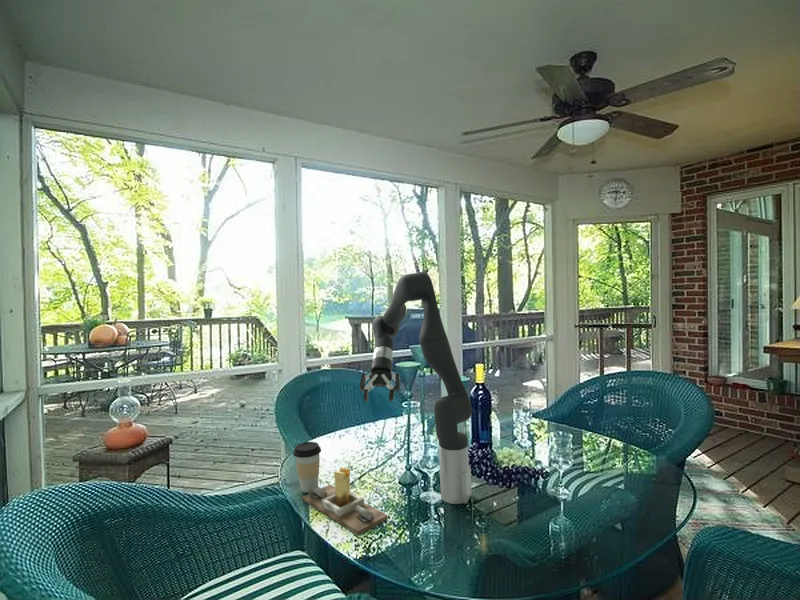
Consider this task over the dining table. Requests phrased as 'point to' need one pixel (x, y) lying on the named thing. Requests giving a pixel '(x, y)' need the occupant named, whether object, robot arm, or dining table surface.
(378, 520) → the clamping jig board
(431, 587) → the dining table surface
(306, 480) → the coffee cup
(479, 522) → the dining table surface
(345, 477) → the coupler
